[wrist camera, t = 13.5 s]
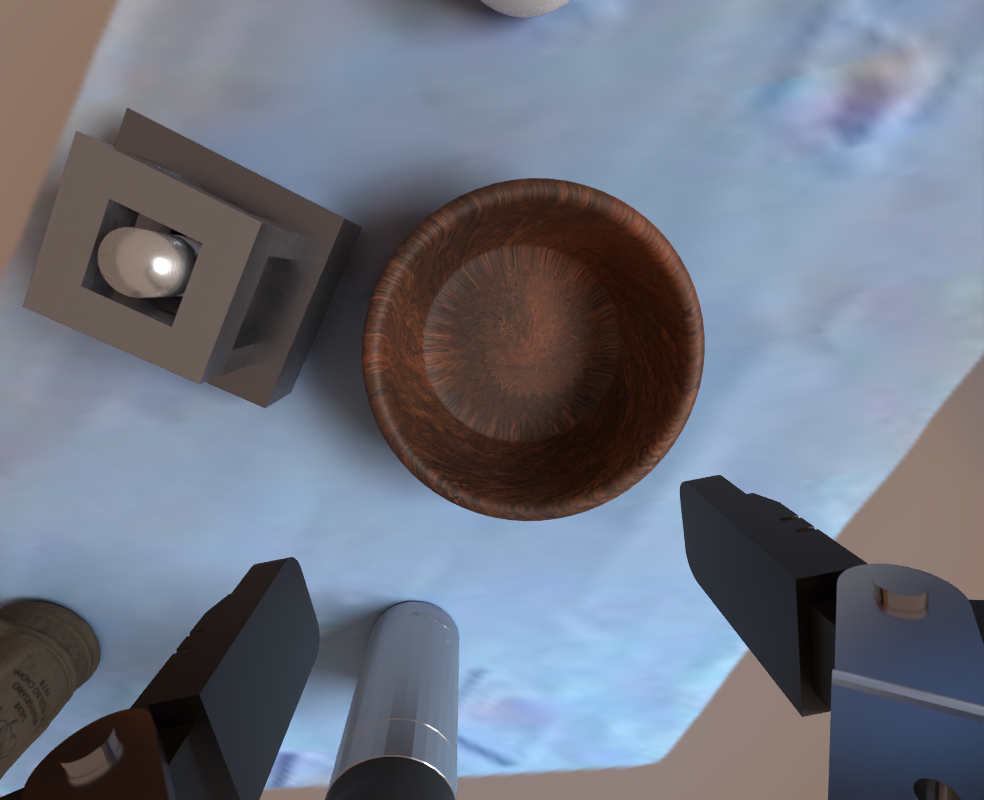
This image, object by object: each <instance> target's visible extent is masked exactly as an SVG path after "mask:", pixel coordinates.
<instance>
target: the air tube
mask: <svg viewBox="0 0 984 800" xmlns="http://www.w3.org/2000/svg"><path fill="white" fill-rule="evenodd" d="M202 244H203V243H201V242H199V241H196V240H194V239H192V238H190V237H188V236H186V235H173V234H168V233H162V232H156V231H150V230H145V229H139V228H133V227H123V228H118V229H116V230H113V231H112V232H110V233H109V234H107V235H106V236H105V238H104V239H103V240H102V242H101V244H100V246H99V250H98V265H99V268H100V271H101V273H102V275H103V277H104V279H105V280H106V281H107V282H108V284H109V285H110V286H111V287H113V288H114V289H115V290H116V291H118V292H120V293H122V294H124V295H126V296H130V297H135V298H147V297H173V296H182V297H183V295H184V293H185V290H186V287H187V284H188V282H189V279H190V276H191V274H192V271H193V268H194V265H195V263H196V260H197V257H198V254H199V252H200V249H201V246H202Z"/></svg>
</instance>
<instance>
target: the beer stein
mask: <svg viewBox="0 0 984 800" xmlns="http://www.w3.org/2000/svg"><path fill="white" fill-rule="evenodd" d="M99 661H100V647H99V642H98V640H97V638H96V636H95V634H94V632H93V630H92V629H91V627H90V626H89V625H88V624H87V623H86V622H85V621H84V620H83V619H81V618H80V617H79V616H77V615H76V614H75V613H73V612H72V611H70V610H68V609H65V608H63V607H60V606H57V605H54V604H50V603H45V602H23V603H16V604H12V605H9V606H6V607H4V608H2V609H0V779H1V778H2V777H3V775H4V774H5V773H6V771H7V770H8V769H9V768H10V767H11V766H12V765H13V764H14V762H15V761H16V760H17V759H18V758H19V757H20V756H21V755H22V754H23V753H24V751H25V750H26V749H27V748H28V747H29V746H30V745H31V744H32V743H33V742H34V741H35V740H36V739H37V738H38V737H39V736H40V735H41V734H42V733H43V732H44V731H45V730H46V728H47V727H48V726H49V724H50V723H51V721H52V720H53V719H54V718H55V717H56V716H57V714H58V713H59V712H60V711H61V709H62V708H63V706H64V705H65V704H66V703H67V702H68V701H69V700H70V698H71V696H72V695H73V692H74V691H75V690H76V689H78V688H79V687H80V686H81V685H82V684H84V683H85V682H86V681H87V680H88V679H89V678H90V677H91V676H92V675H93V673H94V672H95V670H96V669H97V666H98V664H99Z"/></svg>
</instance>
